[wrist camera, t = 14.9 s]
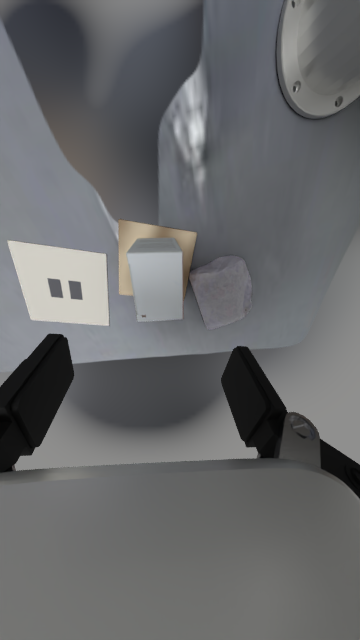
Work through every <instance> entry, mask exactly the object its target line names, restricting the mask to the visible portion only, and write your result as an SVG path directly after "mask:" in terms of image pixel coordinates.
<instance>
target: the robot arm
mask: <svg viewBox="0 0 360 640" xmlns="http://www.w3.org/2000/svg"><path fill="white" fill-rule="evenodd" d="M276 55H277V71H278V77H279V82H280V86H281V89H282V91H283V94H284V97H285V98H286V100H287V102H288V103H289V105H290V107H292V108H293V109H294V110H295V111H296V112H297V113H298V114H300V115H302V116H304V117H306V118H312V119H318V118H325V117H327V116H330V115H332V114H335V113H336V112H338V111H340V110H342V109H343V108H345V107H347V106H348V105H349V104H351V103H352V102H353V101H354V100H356V99H357V98H358V97H359V96H360V0H285V1H284V5H283V8H282V12H281V17H280V23H279V28H278V36H277V50H276ZM73 377H74V370H73V365H72V360H71V355H70V350H69V345H68V340H67V338H66V337H64V336H63V335H62V334H48V335H47V336H46V337H45V339H44V340H43V341H42V342H41V343H40V344H39V345H38V347H37V348H36V349H35V350H34V351H33V352H32V354H31V355H30V356H29V357H28V358H27V359H25V360H24V361H23V362H22V363H21V364H20V365H19V366H18V367H17V368H16V370H15V371H14V372H13V373H12V374H11V375H10V376H9V378H8V379H7V380H6V381H5V382H4V383H3V385H2V386H1V387H0V640H360V465H359V464H358V463H356V462H355V461H353V460H352V459H350V458H349V457H347V456H346V455H344V454H343V453H341V452H340V451H338V450H337V449H335V448H334V447H332V446H330V445H329V444H327V443H326V442H324V441H323V440H321V439H320V436H319V432H318V431H317V429H316V427H315V426H314V425H313V423H312V422H311V421H310V420H309V419H307V418H306V417H304V416H303V415H301V414H299V413H296V412H289V413H288V412H287V410H286V407H285V405H284V404H283V402H282V401H281V399H280V397H279V396H278V394H277V393H276V391H275V390H274V388H273V386H272V385H271V383H270V382H269V380H268V378H267V377H266V376H265V374H264V372H263V370H262V369H261V367H260V366H259V364H258V363H257V361H256V359H255V358H254V356H253V355H252V353H251V351H250V350H249V348H248V347H244V346H237V347H236V348H234V349H233V351H232V354H231V356H230V359H229V361H228V363H227V366H226V368H225V371H224V373H223V375H222V378H221V383H222V386H223V389H224V392H225V395H226V398H227V400H228V403H229V406H230V409H231V412H232V415H233V418H234V420H235V423H236V426H237V429H238V431H239V434H240V437H241V439H242V440H243V441H244V442H245V444H246V447H256V449H257V451H258V455H257V459H228V460H205V461H181V462H161V463H140V464H121V465H101V466H82V467H63V468H49V469H35V470H23V471H22V470H21V471H16V469H15V465H14V464H15V463H16V462H17V461H18V459H19V457H20V456H23V455H24V456H26V455H32V453H33V451H34V449H35V447H39V446H40V444H41V443H42V441H43V439H44V437H45V435H46V433H47V431H48V429H49V427H50V425H51V423H52V421H53V419H54V417H55V415H56V413H57V410H58V409H59V407H60V405H61V403H62V401H63V398H64V397H65V394H66V392H67V390H68V388H69V386H70V384H71V382H72V380H73Z"/></svg>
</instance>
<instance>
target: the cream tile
mask: <svg viewBox="0 0 360 640" xmlns="http://www.w3.org/2000/svg"><path fill="white" fill-rule="evenodd" d="M7 242H8V245H9V248H10V251H11V255H12V258H13V261H14V265H15V268H16V271H17V275H18V278H19V281H20V285H21V288H22V291H23V295H24V298H25V301H26V305H27V308H28V311H29V315H30V318H31V320H38V321H52V322H65V323H79V324H92V325H106V326H109V304H108V281H107V257H106V254H104V253H97V252H89V251H82V250H75V249H68V248H61V247H54V246H47V245H39V244H32V243H25V242H18V241H11V240H7Z"/></svg>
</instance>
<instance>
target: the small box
mask: <svg viewBox="0 0 360 640" xmlns="http://www.w3.org/2000/svg"><path fill="white" fill-rule="evenodd" d="M126 256H127V261H128V265H129V271H130V277H131V283H132V289H133V295H134V302H135V309H136V318H137V322H147V321H163V320H178V319H183V251H182V249H181V248H180V246H179V245H178V243H177V241H176V240H175V238H138V239H137V240H136V241H135V242H134V244H133V245H132V246H131V247H130V249H129V250H128V251H127V253H126Z"/></svg>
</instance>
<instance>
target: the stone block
mask: <svg viewBox="0 0 360 640" xmlns="http://www.w3.org/2000/svg"><path fill="white" fill-rule="evenodd" d="M189 279H190V283H191V285H192V288H193V291H194V294H195V297H196V300H197V303H198V306H199V309H200V312H201V315H202V318H203V321H204V324H205V326H206V328H207V329H208V330H211V329H216V328H219V327H221V326H225V325H227V324H230V323H234V322H236V321H238V320H240V319H242V318H244V317H245V316H246V315H247V313H248V312H250V310H251V308H252V302H251V297H252V286H251V277H250V274H249V272H248V269H247V266H246V263H245V261H244V260H243V259H242V258H241V257H238V256H234V255H229V256H224V257H218V258H217V259H215V260H214V261H211V262H210V263H209V264H207V265H205V266H201V267H198V268H196V269H194V270H192V271H191V272H189Z"/></svg>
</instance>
